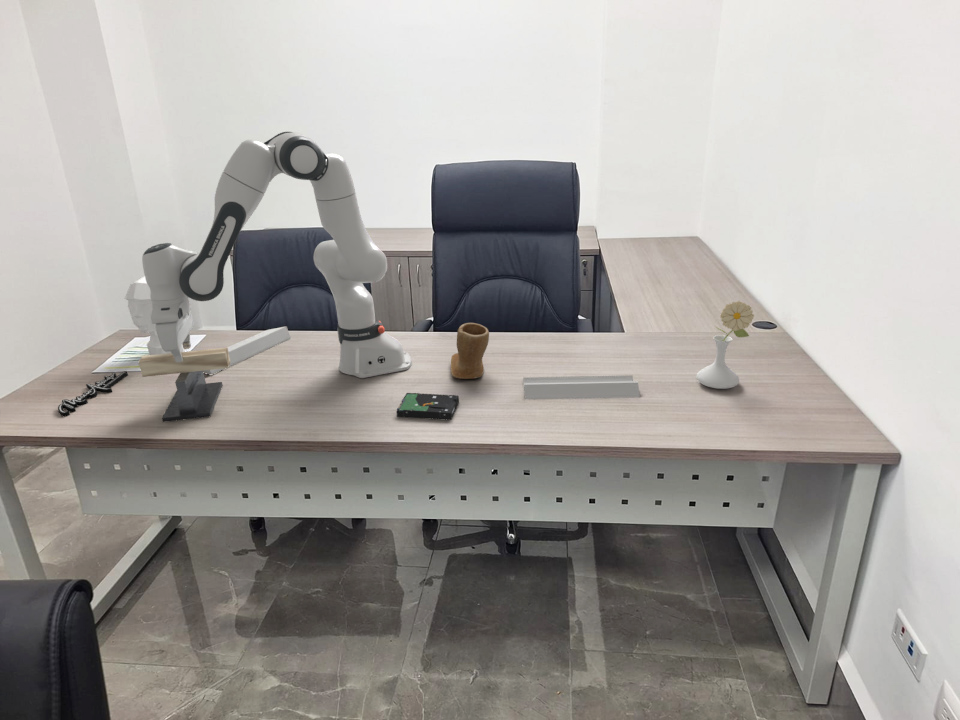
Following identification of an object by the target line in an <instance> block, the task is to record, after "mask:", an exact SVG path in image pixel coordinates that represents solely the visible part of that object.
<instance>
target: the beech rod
mask: <svg viewBox="0 0 960 720" xmlns="http://www.w3.org/2000/svg"><path fill="white" fill-rule="evenodd" d="M181 354H183V358H184V359H183V361H182V362H176V361H175V358H174V356H173V354H172V353H168V354H158V355H149V354H148V355H141V358H140V359H139V360H138V365H139V369H140V373H141V376H142V378H145V377H146V378H147V377H154V376H155V377H156V376H165V375H173V374H174V375H175V374H180V373H185V372H195V371H204V370H214V369H223V368H227V369H229V368H230V367H229V365H230V363H231V362H230V357H229V352H228V348H227V347H220V348H219V347H218V348H210V349H208V348H207V349H200V350H191V351H186V352H181Z"/></svg>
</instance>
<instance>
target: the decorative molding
mask: <svg viewBox="0 0 960 720" xmlns="http://www.w3.org/2000/svg"><path fill="white" fill-rule="evenodd" d="M290 338H291V335H290V331H289V330H288V326H281V327H277V328H271V329H270V328H269V329H266V330H264V331H262V332H259V333H257V334H254V335H252V336H250V337H248V338H246V339H243V340H240V341H239V342H235V343H234V344H231V345H229V346H227V347H226V348H228V352H229V357H230V362H231V363H230V365H229V366H231V367H233V366H235V365H237V364H239V363H238V362H240V361H242V362H244V361H246V360H248V359H250V358H252V357H254V355H255V356H256V354H257V355H258V353H259V354H261V353H263V352H265V351H267V350H270V349H271V348H273V347H275V345H276V346H278V345H280V344H283V343H284V342H286V341H289V340H290ZM279 343H280V344H279ZM277 344H278V345H277ZM264 350H265V351H264ZM262 351H263V352H262ZM260 352H261V353H260ZM249 357H250V358H249ZM247 358H248V359H247ZM245 359H246V360H245ZM243 360H244V361H243ZM236 363H237V364H236ZM240 363H241V362H240ZM234 364H235V365H234ZM232 365H233V366H232ZM223 369H225V368H223ZM223 369H214V370H204V371H203V372H204V374H205V373H207V374H214V373H216V372H218V371H220V372H222V371H221V370H223ZM225 370H226V369H225ZM223 371H224V370H223ZM218 373H219V372H218ZM207 374H206V375H207ZM216 374H217V373H216ZM214 375H215V374H214Z"/></svg>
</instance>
